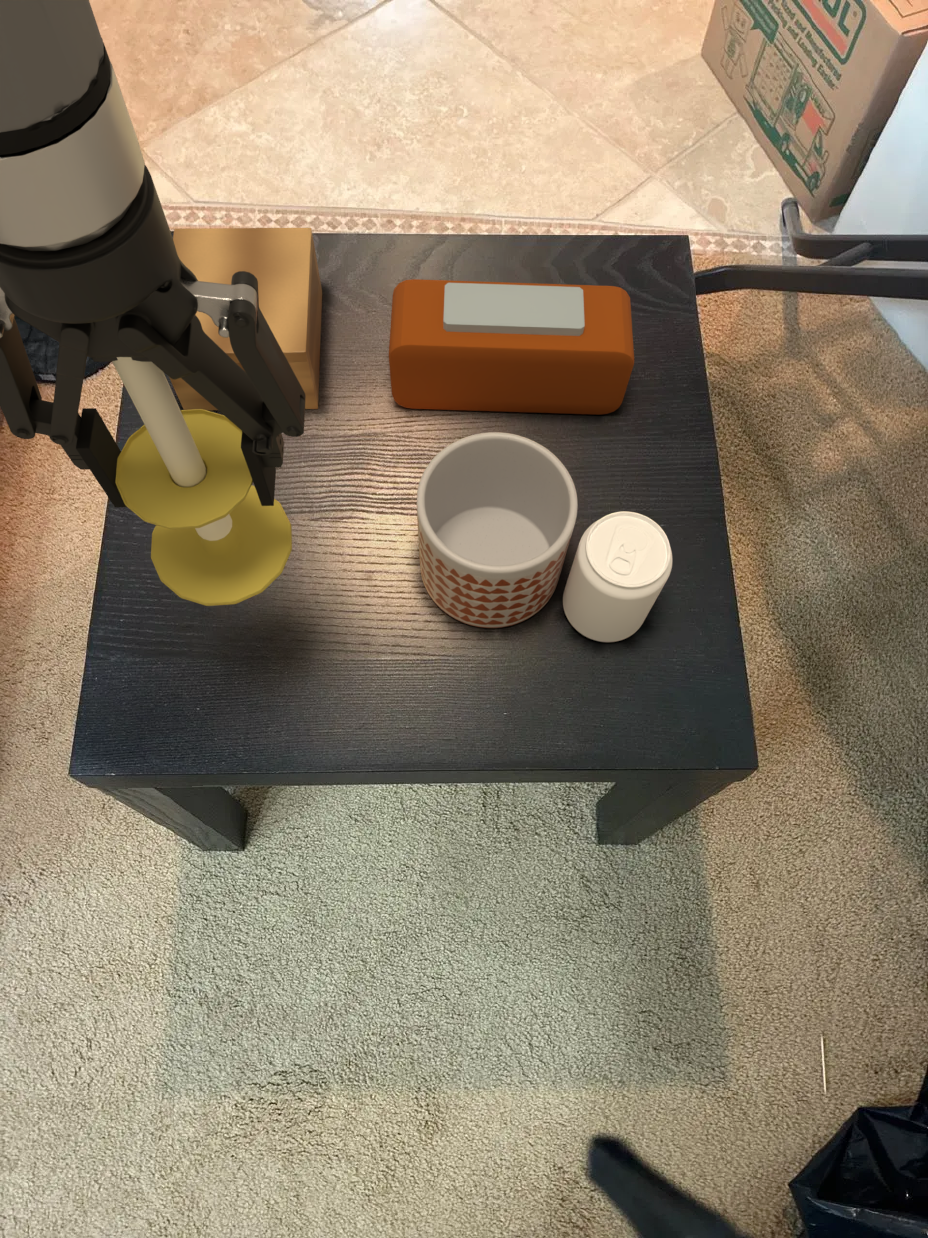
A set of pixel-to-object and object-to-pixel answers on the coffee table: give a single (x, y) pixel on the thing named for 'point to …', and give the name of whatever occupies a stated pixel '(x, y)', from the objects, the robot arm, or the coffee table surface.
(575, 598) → the beverage can
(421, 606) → the coffee table surface
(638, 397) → the coffee table surface
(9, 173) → the robot arm
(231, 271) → the lidded tan carton
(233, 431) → the candle
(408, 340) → the alarm clock
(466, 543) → the planter
